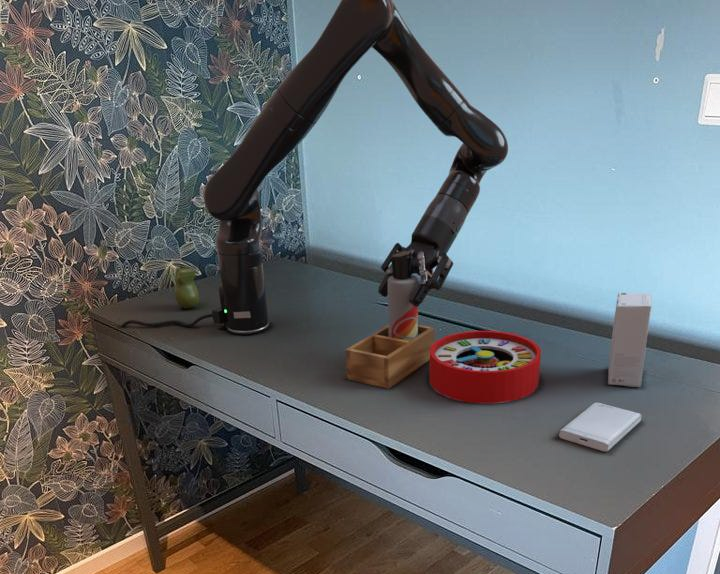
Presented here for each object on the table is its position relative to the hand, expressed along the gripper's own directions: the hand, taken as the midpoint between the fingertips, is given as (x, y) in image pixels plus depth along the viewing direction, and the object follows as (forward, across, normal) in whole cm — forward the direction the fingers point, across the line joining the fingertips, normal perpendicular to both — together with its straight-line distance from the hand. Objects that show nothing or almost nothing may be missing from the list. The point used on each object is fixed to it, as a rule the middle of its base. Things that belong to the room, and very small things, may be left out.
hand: (397, 299), depth 145 cm
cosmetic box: (-7, +36, +25) cm, 44 cm away
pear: (+17, -61, +1) cm, 63 cm away
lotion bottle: (+7, 0, +9) cm, 12 cm away
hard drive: (+7, +44, +11) cm, 46 cm away
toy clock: (+6, +18, +12) cm, 22 cm away
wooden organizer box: (+11, +1, +7) cm, 13 cm away
